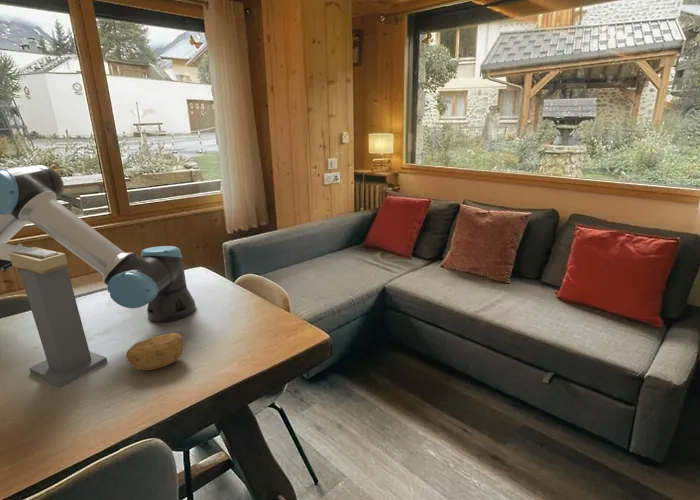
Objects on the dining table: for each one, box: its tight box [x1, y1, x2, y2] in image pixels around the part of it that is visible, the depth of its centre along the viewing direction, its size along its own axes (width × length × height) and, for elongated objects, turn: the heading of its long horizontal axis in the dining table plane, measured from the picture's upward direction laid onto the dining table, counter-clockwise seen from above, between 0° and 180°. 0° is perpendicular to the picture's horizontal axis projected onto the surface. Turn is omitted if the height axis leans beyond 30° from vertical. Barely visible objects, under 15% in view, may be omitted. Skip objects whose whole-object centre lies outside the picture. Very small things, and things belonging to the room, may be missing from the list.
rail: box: [0, 243, 59, 261], centre depth 102 cm, size 23×3×3 cm, turn 67°
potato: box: [125, 332, 185, 371], centre depth 108 cm, size 10×14×8 cm
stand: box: [9, 246, 109, 389], centre depth 104 cm, size 14×12×32 cm
